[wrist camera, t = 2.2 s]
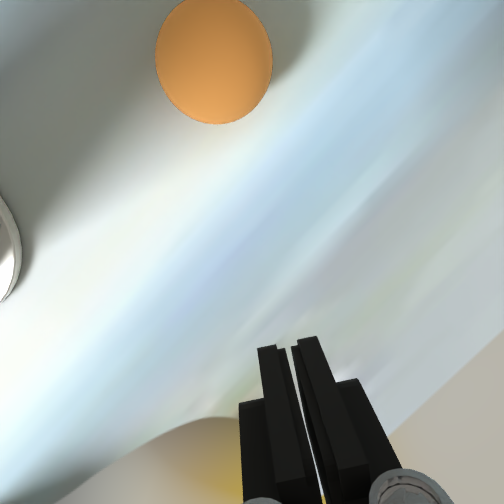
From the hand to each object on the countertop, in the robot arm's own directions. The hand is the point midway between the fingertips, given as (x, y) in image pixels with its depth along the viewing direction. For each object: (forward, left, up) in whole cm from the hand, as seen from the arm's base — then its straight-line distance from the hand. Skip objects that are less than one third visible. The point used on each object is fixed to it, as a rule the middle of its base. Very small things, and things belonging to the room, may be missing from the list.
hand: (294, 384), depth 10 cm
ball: (0, +10, -14) cm, 17 cm away
